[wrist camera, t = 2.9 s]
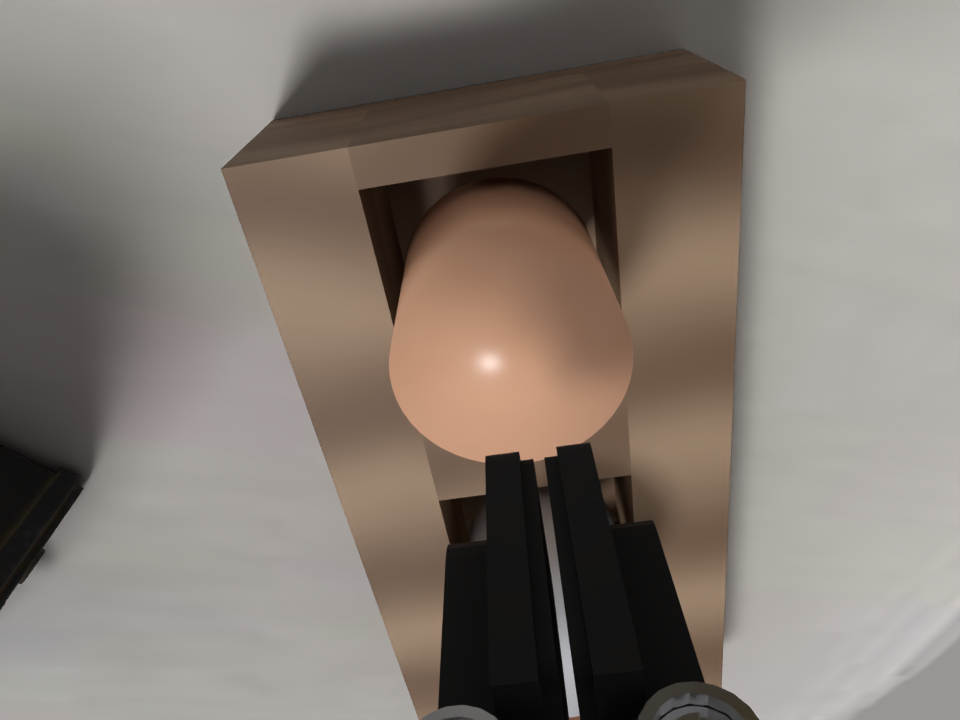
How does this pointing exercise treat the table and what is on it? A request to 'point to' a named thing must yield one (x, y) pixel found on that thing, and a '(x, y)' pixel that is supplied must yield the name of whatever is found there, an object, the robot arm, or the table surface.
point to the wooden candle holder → (624, 256)
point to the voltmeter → (29, 514)
